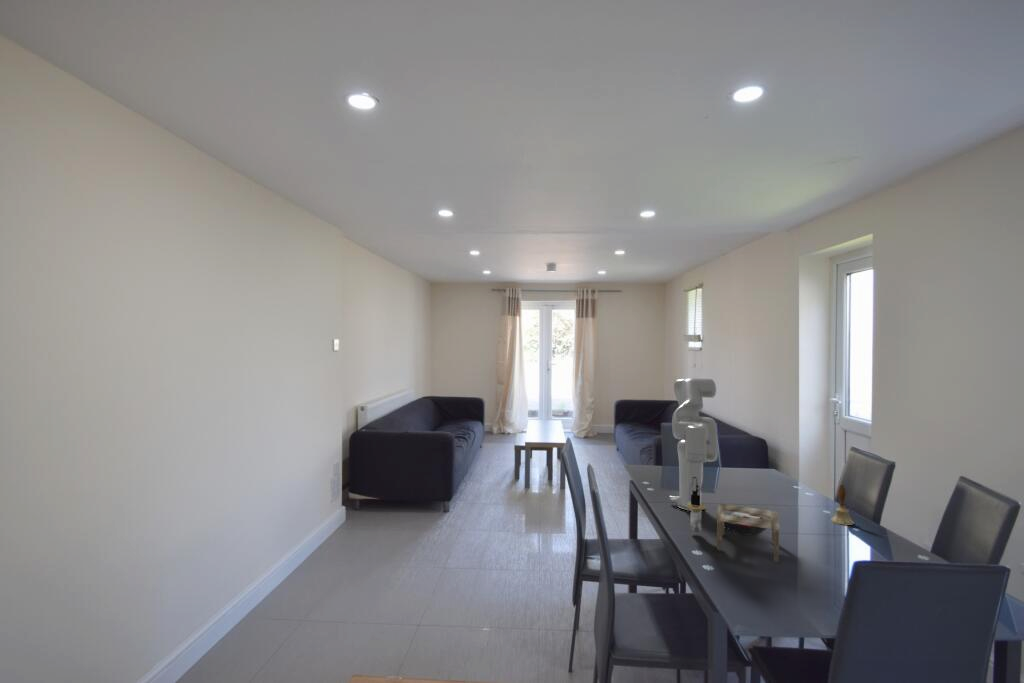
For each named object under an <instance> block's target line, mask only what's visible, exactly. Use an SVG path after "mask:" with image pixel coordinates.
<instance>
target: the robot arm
mask: <svg viewBox="0 0 1024 683" xmlns="http://www.w3.org/2000/svg"><path fill="white" fill-rule="evenodd" d="M673 391H674V395H675V398H676V401H677V403H678V407H677V408H675V410H674V411H673V413H672V419H671V425H672V426H671V429H672V431H671V432H672V435H673V437H674V439H676V440H679V441H678V443H677V445H676V448H677V451H676V452H677V456H678V470H679V472H678V476H679V482H678V483H679V484H678V486H679V490H678V491H679V492H678V493H679V495H676V496H674V495H669V500H670V501H671V502H676V503H678V505H680V507H681V508H682V507H683V509H686V510H691V509H689V508H687V503H688V502H691V505H697V506H700V495H699V489H701V490H702V485H703V481H704V463H707V462H710V463H712V462H713V463H714V462H716V461H717V459H718V456H719V448H718V447H719V445H718V444H719V443H718V430H717V422H716V421H715V419H714V418H712V417H708V416H700V415H699V414H700V412H701V411H702V410H703V408H704V403H703V398H709V399H710V398H712V399H713V398H714V397H715V396H716V394H717V385H716V383H715V381H714V380H713V379H711V378H698V377H697V378H695V377H694V378H680V379H676V380H675V381H674V383H673ZM696 489H697V490H696Z"/></svg>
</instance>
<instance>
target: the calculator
mask: <svg viewBox="0 0 1024 683" xmlns="http://www.w3.org/2000/svg"><path fill="white" fill-rule="evenodd" d="M730 516H736V517H743V518H750V517H753V518H759V519H763V517H756V516H750V514H746V513H739V512H732V513H730ZM724 527H725V528H724V529H726V528H729V529H732V530H731V531H733V530H735V531H734V532H737V531H738V532H737V533H742V534H744V533H745V535H748V534H749V536H750V535H751V536H752V535H753V534H754V533H755V532H756V531H757V530H758V529H760V528H761V527H755V526H749V525H742V524H736V523H730V522H724ZM729 529H728V530H729Z"/></svg>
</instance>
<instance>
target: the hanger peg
mask: <svg viewBox="0 0 1024 683" xmlns="http://www.w3.org/2000/svg"><path fill="white" fill-rule="evenodd" d="M696 490H697V489H696ZM699 495H700V506H697V505H691V502H688V503H687V508H689V509H691V512H690V531H691V532H694V533H702V512H703V511H702V510H704V511H705V510H706V509H707V508H706V507H707V506H706V504H704V503H702V488H701V489H699Z"/></svg>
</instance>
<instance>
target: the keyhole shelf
mask: <svg viewBox="0 0 1024 683" xmlns="http://www.w3.org/2000/svg"><path fill="white" fill-rule="evenodd" d="M726 511H728V512H732V513H733V512H739V513H746V514H750V516H756V517H762V519H759V518H753V517H750V518H743V517H736V516H730V515H731V514H730V515H729V514H725V513H726ZM715 518H716V540H717V541H716V551H717V550H722V551H723V536H722V535H724V536H725V528H724V522H730V523H736V524H742V525H749V526H755V527H760V528H761V529H762V528H763V529H766V530H767V529H769V530H771V544H772V545H773V544H774V545H773V562H776V563H779V561H780V557H779V556H780V541H779V540H780V538H779V537H780V536H779V535H780V533H779V531H780V527H781V526H780V523H779V522H780V521H779V514H778V511H777V510H776V511H775V510H768V509H761V508H760V509H759V508H754V507H748V506H741V505H733V504H727V503H720V502H719V503H718V508H717V512H716V517H715Z"/></svg>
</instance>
